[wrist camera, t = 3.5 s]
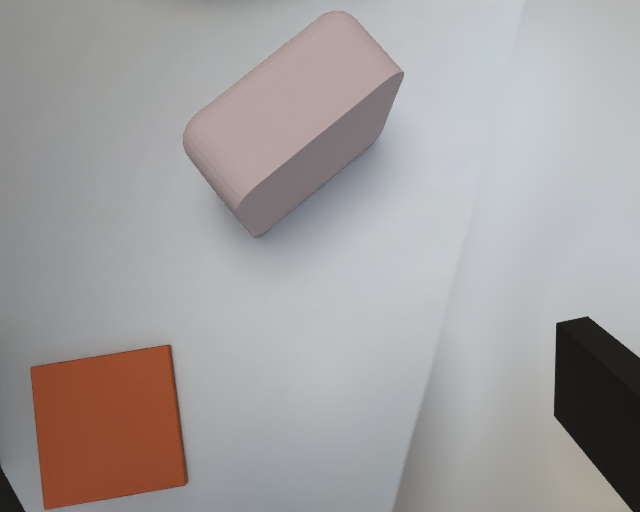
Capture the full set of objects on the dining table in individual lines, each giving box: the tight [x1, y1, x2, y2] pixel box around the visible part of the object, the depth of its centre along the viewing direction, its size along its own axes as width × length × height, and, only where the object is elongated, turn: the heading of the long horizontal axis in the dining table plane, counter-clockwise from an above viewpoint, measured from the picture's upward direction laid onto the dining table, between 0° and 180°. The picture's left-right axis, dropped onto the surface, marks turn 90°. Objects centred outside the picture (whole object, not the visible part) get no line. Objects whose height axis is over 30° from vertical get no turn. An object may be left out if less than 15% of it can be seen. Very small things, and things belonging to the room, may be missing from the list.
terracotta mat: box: [31, 345, 187, 510], centre depth 29 cm, size 8×8×1 cm
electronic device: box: [183, 11, 404, 237], centre depth 27 cm, size 10×5×10 cm, turn 130°
